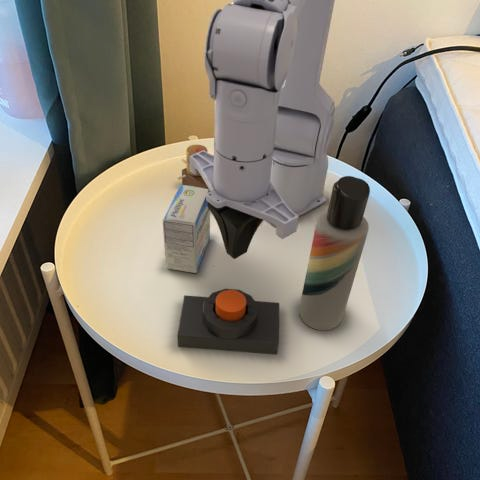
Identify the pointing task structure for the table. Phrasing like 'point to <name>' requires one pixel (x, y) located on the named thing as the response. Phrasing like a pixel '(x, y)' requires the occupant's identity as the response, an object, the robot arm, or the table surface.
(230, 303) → the button
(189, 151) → the dial
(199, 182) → the dial panel
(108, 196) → the table surface
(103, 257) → the table surface
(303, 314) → the lotion bottle
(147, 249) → the table surface
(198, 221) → the medicine box
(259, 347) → the switch base
